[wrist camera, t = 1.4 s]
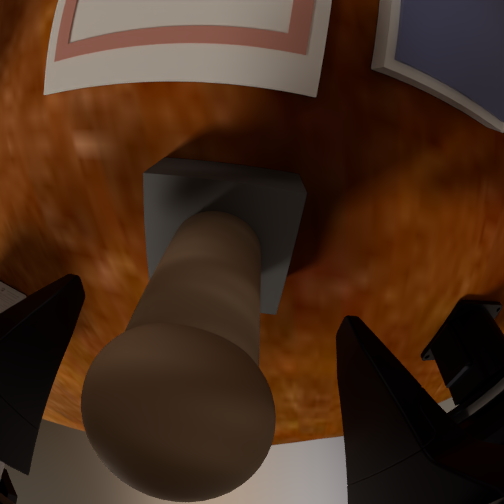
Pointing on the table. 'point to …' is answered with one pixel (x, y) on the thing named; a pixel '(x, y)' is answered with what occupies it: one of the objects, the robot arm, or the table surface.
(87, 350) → the table surface
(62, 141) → the table surface
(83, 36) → the board
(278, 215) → the stamp
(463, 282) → the table surface
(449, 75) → the ink pad
